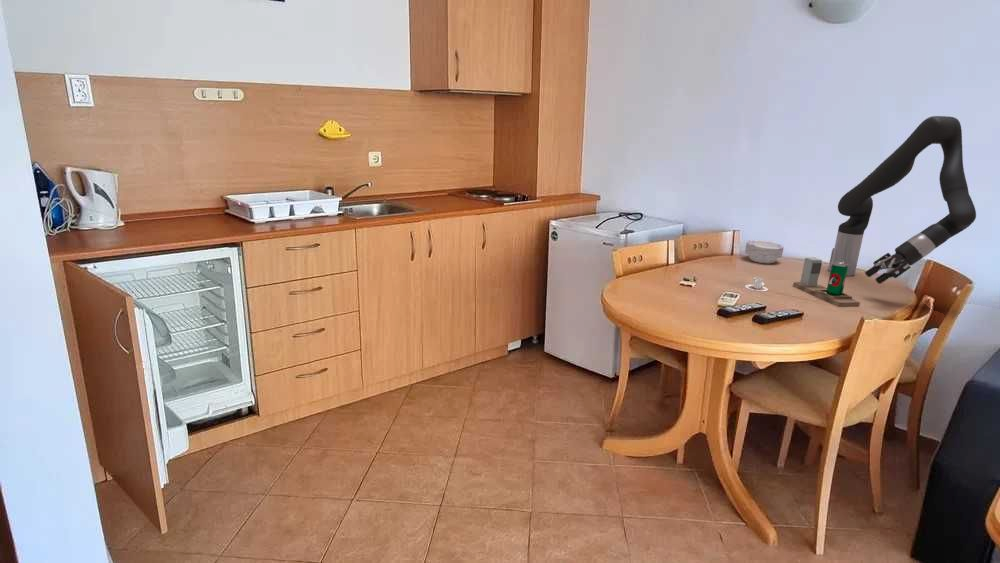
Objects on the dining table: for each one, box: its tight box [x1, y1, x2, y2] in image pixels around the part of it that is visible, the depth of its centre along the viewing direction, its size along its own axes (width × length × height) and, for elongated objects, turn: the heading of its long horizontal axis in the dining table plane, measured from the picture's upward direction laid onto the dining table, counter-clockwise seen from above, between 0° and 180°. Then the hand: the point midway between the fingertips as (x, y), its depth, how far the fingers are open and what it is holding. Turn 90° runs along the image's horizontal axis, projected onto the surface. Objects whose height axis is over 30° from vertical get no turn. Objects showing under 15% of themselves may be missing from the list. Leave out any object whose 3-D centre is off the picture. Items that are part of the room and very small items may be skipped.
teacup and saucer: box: [745, 277, 769, 292], centre depth 222 cm, size 9×8×4 cm
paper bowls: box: [744, 239, 784, 264], centre depth 263 cm, size 15×15×8 cm
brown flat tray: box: [792, 281, 861, 308], centre depth 216 cm, size 24×8×2 cm, turn 11°
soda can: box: [826, 261, 848, 296], centre depth 211 cm, size 5×5×12 cm
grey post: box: [799, 256, 823, 286], centre depth 223 cm, size 5×4×10 cm
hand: (871, 278), depth 209 cm, fingers open, 8 cm apart
